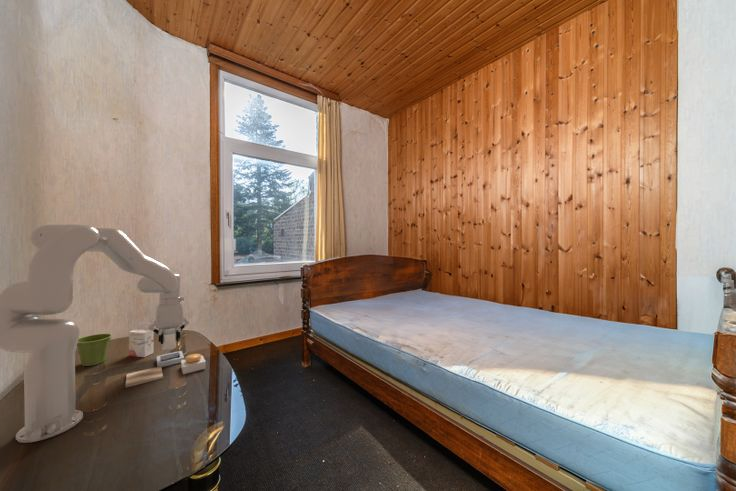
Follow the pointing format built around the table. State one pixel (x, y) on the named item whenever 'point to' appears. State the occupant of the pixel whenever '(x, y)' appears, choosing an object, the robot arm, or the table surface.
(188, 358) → the orange mushroom button
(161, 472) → the table surface
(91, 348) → the plant pot
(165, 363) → the filter socket
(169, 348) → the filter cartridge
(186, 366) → the white square base
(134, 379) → the wooden pad
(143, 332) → the ink cartridge box
